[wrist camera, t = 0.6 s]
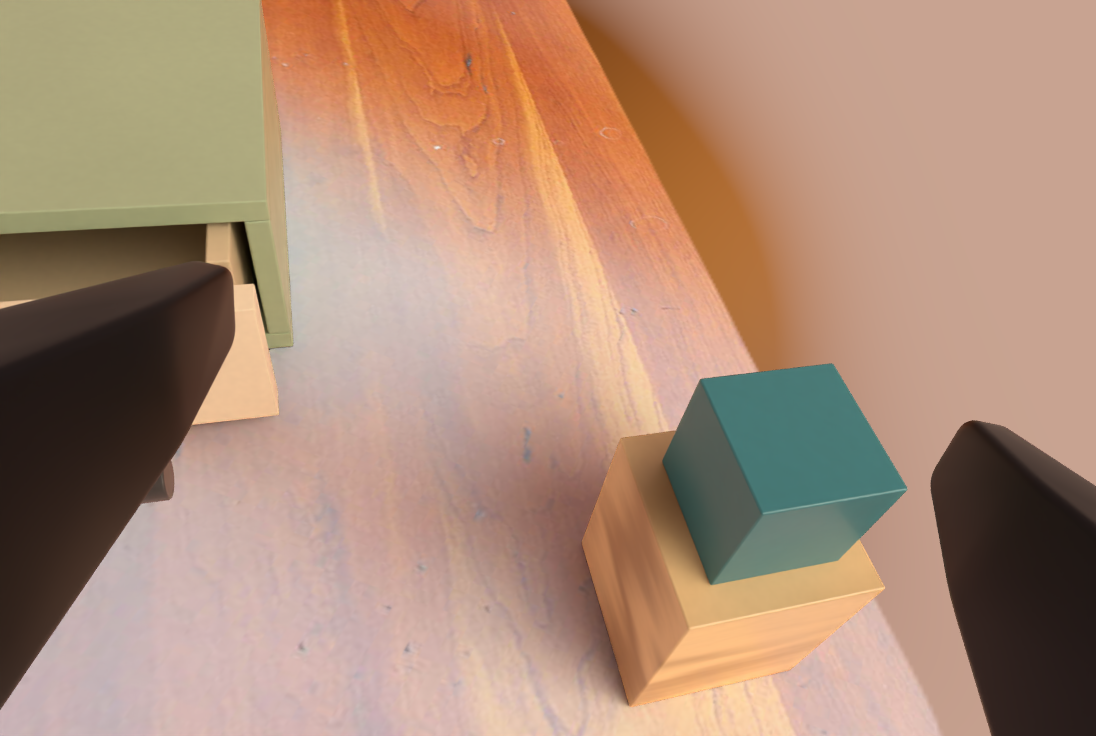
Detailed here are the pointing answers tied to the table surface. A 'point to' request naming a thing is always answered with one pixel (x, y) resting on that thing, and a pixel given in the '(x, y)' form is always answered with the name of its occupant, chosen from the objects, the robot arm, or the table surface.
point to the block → (777, 471)
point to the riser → (700, 591)
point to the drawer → (109, 254)
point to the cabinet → (145, 125)
